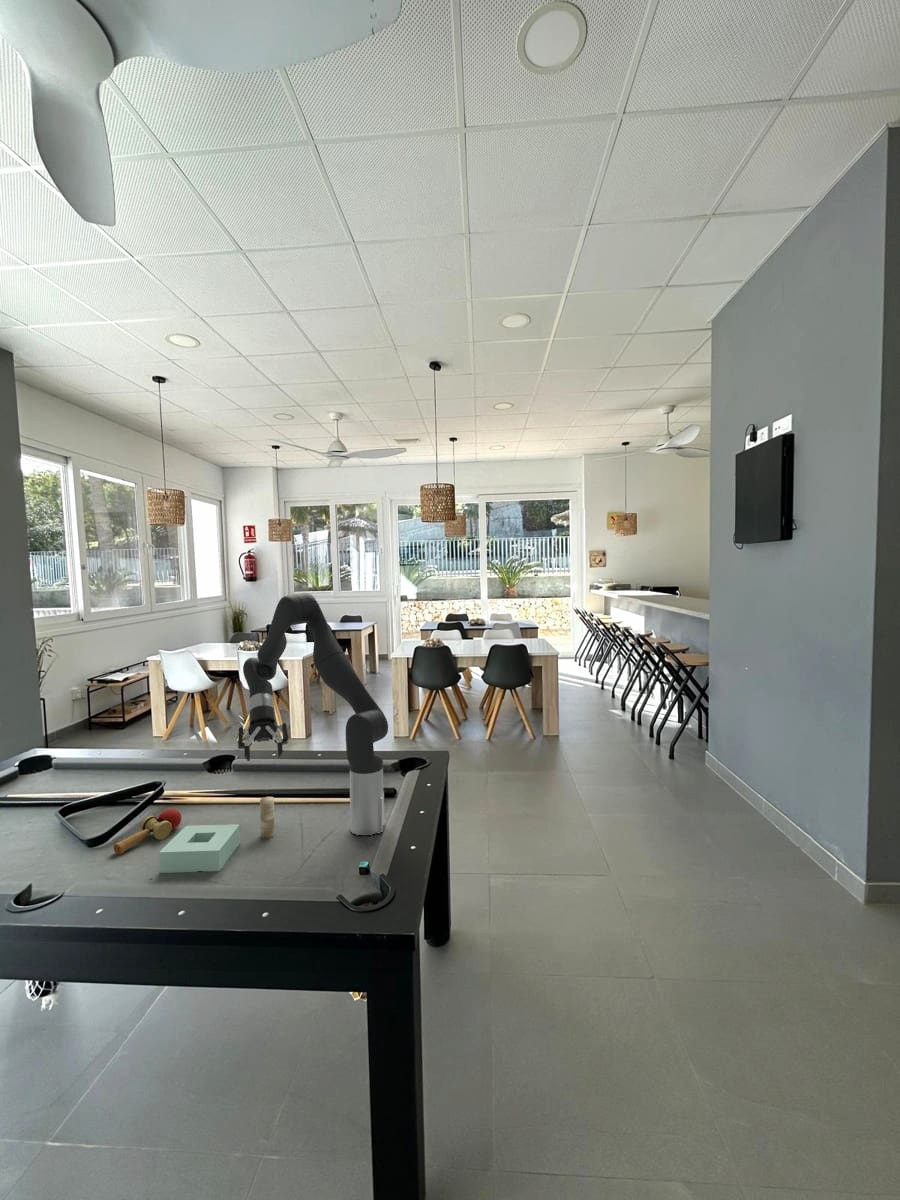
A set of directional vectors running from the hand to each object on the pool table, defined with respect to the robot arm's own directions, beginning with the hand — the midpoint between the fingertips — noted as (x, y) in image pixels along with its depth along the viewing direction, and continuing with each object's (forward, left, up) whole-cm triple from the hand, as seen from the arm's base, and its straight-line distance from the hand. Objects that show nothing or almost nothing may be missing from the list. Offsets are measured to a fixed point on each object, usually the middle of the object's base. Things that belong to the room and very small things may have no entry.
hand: (264, 758), depth 153 cm
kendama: (+27, +11, -18) cm, 35 cm away
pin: (-4, +11, -18) cm, 21 cm away
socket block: (+9, +22, -18) cm, 30 cm away
